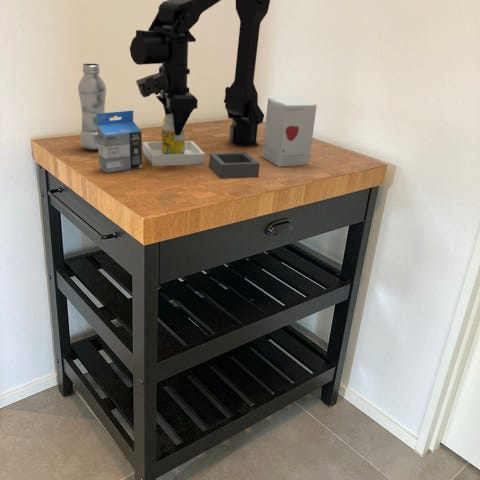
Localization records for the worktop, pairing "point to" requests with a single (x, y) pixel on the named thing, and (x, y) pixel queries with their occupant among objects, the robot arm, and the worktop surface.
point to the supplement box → (288, 131)
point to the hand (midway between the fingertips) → (173, 131)
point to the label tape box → (118, 142)
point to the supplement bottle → (172, 138)
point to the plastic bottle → (91, 104)
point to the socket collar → (233, 165)
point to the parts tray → (173, 155)
